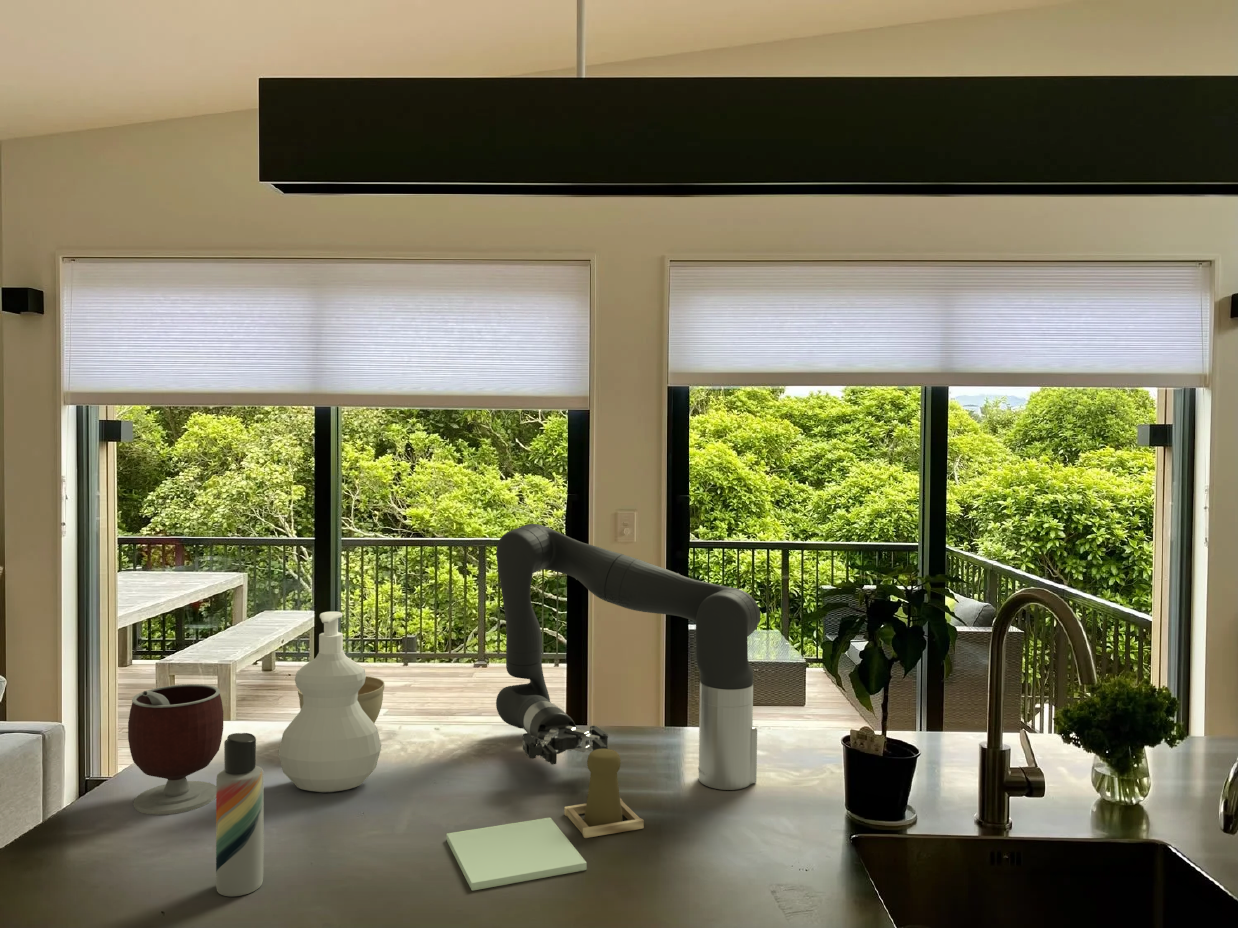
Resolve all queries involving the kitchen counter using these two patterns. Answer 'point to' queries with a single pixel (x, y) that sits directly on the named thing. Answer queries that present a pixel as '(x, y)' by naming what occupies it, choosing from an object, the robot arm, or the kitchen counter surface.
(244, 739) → the lotion bottle
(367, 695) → the planter bowl
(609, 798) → the cork
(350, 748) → the soap bottle
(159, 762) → the mate gourd
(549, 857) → the sage board
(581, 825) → the oak holder frame
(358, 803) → the kitchen counter surface
